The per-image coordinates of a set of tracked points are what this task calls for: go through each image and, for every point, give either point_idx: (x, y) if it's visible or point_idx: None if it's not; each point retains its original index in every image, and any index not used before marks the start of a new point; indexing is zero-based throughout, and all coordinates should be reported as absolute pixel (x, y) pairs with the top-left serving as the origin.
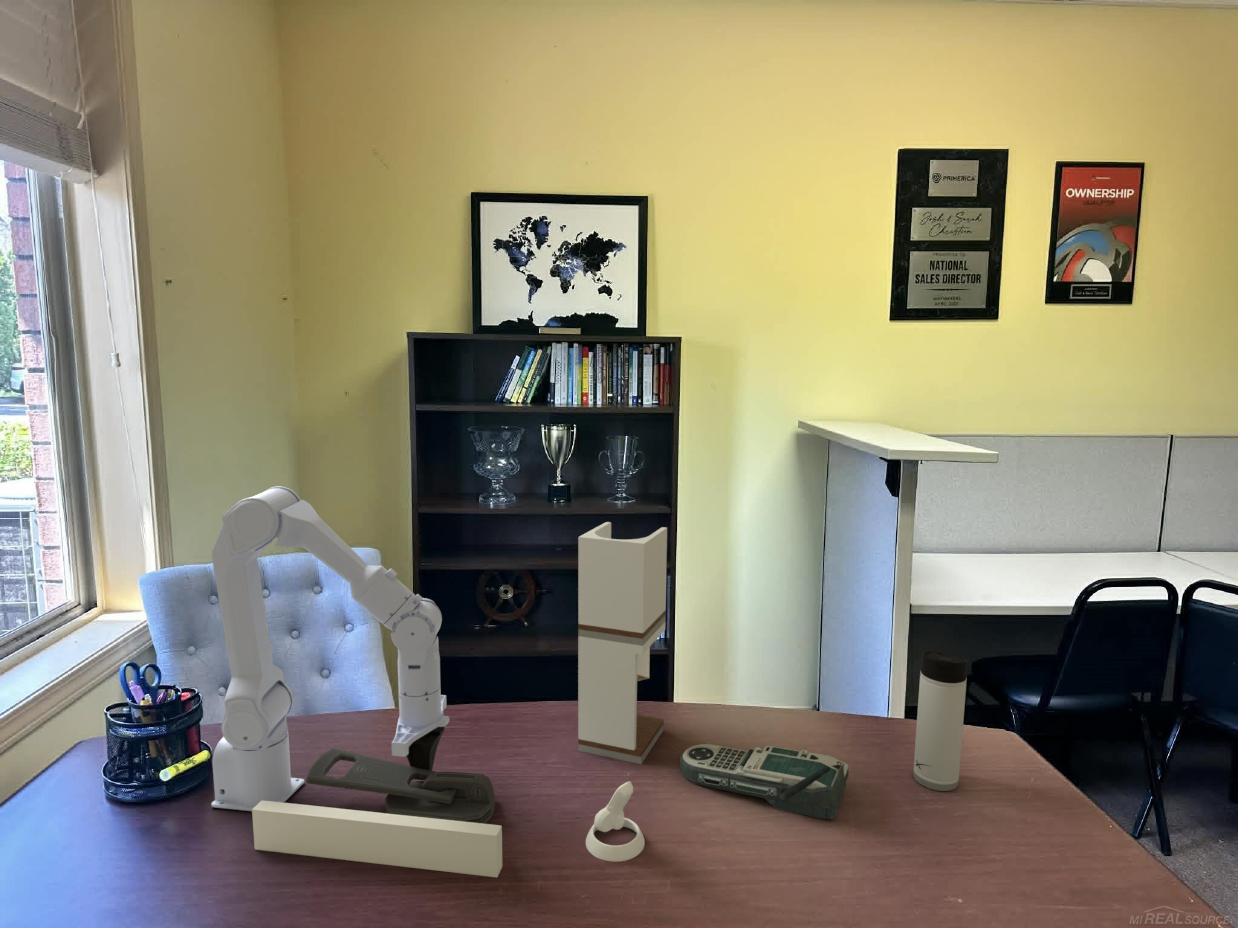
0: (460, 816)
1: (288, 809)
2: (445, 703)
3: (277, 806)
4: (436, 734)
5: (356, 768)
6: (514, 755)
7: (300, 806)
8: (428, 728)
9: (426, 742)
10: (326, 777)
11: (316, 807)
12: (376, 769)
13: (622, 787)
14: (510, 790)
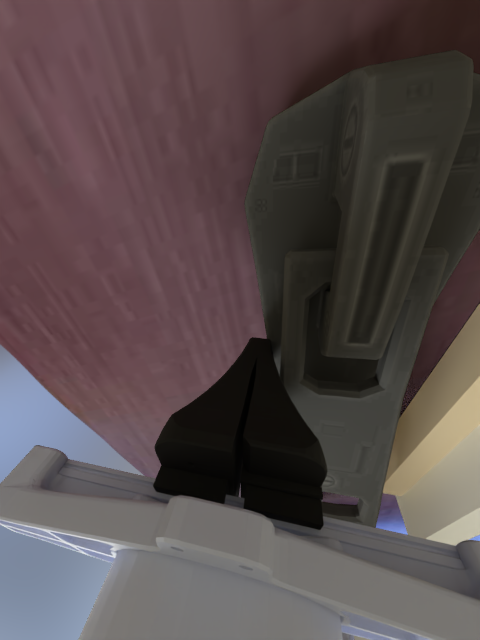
0: None
1: (462, 534)
2: (24, 471)
3: (443, 539)
4: (235, 446)
5: (323, 484)
6: (39, 147)
7: (455, 525)
8: (351, 596)
9: (324, 475)
10: (369, 517)
11: (473, 514)
12: None
13: None
14: (211, 72)
